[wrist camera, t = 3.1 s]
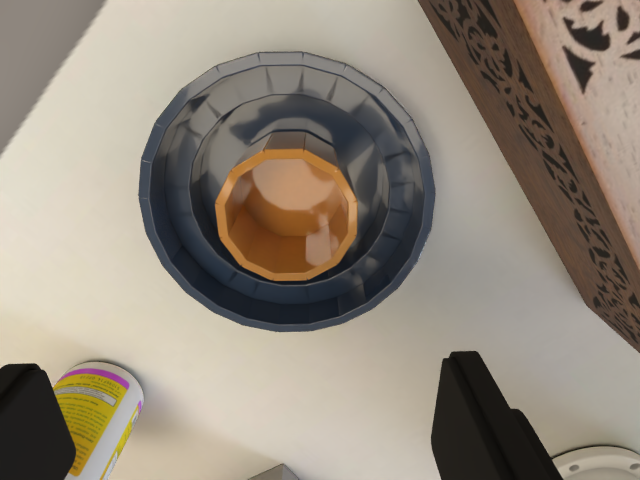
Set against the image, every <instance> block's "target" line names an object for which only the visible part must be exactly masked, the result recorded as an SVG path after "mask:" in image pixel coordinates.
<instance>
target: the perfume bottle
mask: <svg viewBox="0 0 640 480" xmlns="http://www.w3.org/2000/svg"><path fill="white" fill-rule="evenodd" d="M248 480H299V479H298V478H297V477H296V476H295V475H294V474H293V473H292V472H291V471H290V470H289V469H288V468H287V467H286V466H285V465H284V464H281V465H279V466H277V467H275V468H273V469H270V470H268V471H266V472H264V473H262V474H259V475H257V476H255V477H253V478H251V479H248Z"/></svg>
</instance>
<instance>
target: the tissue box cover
mask: <svg viewBox="0 0 640 480" xmlns="http://www.w3.org/2000/svg"><path fill="white" fill-rule="evenodd" d="M418 1H419V3H420V5H421V7H422V9H423V10H424V12H425V14H426V16H427V18H428V19H429V21H430V23H431V25H432V27H433V28H434V30H435V32H436V34H437V36H438V37H439V39H440V41H441V43H442V45H443V47H444V48H445V50H446V52H447V54H448V56H449V57H450V59H451V61H452V63H453V65H454V66H455V68H456V70H457V72H458V74H459V75H460V77H461V79H462V81H463V83H464V85H465V86H466V88H467V90H468V92H469V94H470V95H471V97H472V99H473V101H474V103H475V104H476V106H477V108H478V110H479V112H480V113H481V115H482V117H483V119H484V121H485V123H486V124H487V126H488V128H489V130H490V132H491V133H492V135H493V137H494V139H495V141H496V142H497V144H498V146H499V148H500V150H501V151H502V153H503V155H504V157H505V159H506V161H507V162H508V164H509V166H510V168H511V170H512V171H513V173H514V175H515V177H516V179H517V180H518V182H519V184H520V186H521V188H522V189H523V191H524V193H525V195H526V197H527V199H528V200H529V202H530V204H531V206H532V208H533V209H534V211H535V213H536V215H537V217H538V218H539V220H540V222H541V224H542V226H543V227H544V229H545V231H546V233H547V235H548V237H549V238H550V240H551V242H552V244H553V246H554V247H555V249H556V251H557V253H558V255H559V256H560V258H561V260H562V262H563V264H564V265H565V267H566V269H567V271H568V273H569V275H570V276H571V278H572V280H573V282H574V284H575V285H576V287H577V289H578V291H579V293H580V294H581V296H582V298H583V300H584V302H585V303H586V305H587V306H588V307H589V308H590V309H591V310H592V311H593V312H594V313H596V314H597V315H598V316H599V317H600V318H601V319H602V320H603V321H604V322H606V323H607V324H608V325H609V326H610V327H611V328H612V329H613V330H614V331H616V332H617V333H618V334H619V335H620V336H621V337H622V338H623V339H624V340H626V341H627V342H628V343H629V344H630V345H631V346H632V347H633V348H634V349H636V350H637V351H638V352H639V353H640V0H418Z"/></svg>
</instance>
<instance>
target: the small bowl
mask: <svg viewBox="0 0 640 480" xmlns="http://www.w3.org/2000/svg"><path fill="white" fill-rule="evenodd" d="M215 202H216V203H215V210H216V218H217V226H218V233H219V237H221V238H220V240H221V241H222V242H223V244H224V245H225V246H226V248H227V249H228V250H229V251H230V253H231V254H232V255H233V257H234V258H235V259H236V261H237V262H238V263H239V264H240V265H242V267H244V268H246V269H248V270H250V271H252V272H255V273H257V274H259V275H261V276H263V277H265V278H267V279H270V280H273V281H301V280H307V279H308V280H309V279H311V278H313V277H315V276H317V275H319V274H321V273H323V272H324V271H326V270H328V269H330V268H332V267H334V266H336V265H337V263H339V262H340V261H341V259H342V258H343V256H344V255H345V253H346V252H347V250H348V248H349V247H350V245H351V244H352V242H353V241H354V239H355V238H356V235H357V216H358V201H357V197H356V194H355V191H354V188H353V185H352V181H351V178H350V175H349V173H348V171H347V169H346V167H345V166H344V164H343V162H342V160H341V159H340V157H339V155H338V154H337V152H336V150H335V149H333V147H332V146H330V145H328V144H327V143H325V142H323V141H321V140H320V139H318V138H316V137H314V136H313V135H311V134H309V133H307V132H306V133H305V132H274V133H271V134H269V135H267V136H266V137H264V138H263V139H261V140H259V141H258V142H256V143H255V144H253V145H251V146H250V147H248V148H247V149H246V150H245V151H244V153H243V154H242V155H241V157H240V158H239V159H238V161H237V162H236V163H235V165H234V166H233V168H232V169H231V170H230V172H229V174H228V176H227V178H226V180H225V182H224V184H223V186H222V188H221V191H220V193H219V195H218V197H217V199H216V201H215Z"/></svg>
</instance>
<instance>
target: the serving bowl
mask: <svg viewBox="0 0 640 480" xmlns="http://www.w3.org/2000/svg"><path fill="white" fill-rule="evenodd" d="M274 132H305V133H306V132H307V133H309V134H311V135H313V136H314V137H316V138H318V139H320V140H321V141H323V142H325V143H327V144H328V145H330V146H332V147H333V149H335V150H336V152H337V154H338V155H339V157H340V159H341V160H342V162H343V164H344V166H345V167H346V169H347V171H348V173H349V175H350V178H351V181H352V185H353V188H354V191H355V194H356V197H357V201H358V216H357V235H356V238H355V239H354V241H353V242H352V244H351V245H350V247H349V248H348V250H347V252H346V253H345V255H344V256H343V258H342V259H341V261H340V262H339V263H337V265H336V266H334V267H332V268H330V269H328V270H326V271H324V272H323V273H321V274H319V275H317V276H315V277H313V278H311V279H309V280H308V279H307V280H301V281H273V280H270V279H267V278H265V277H263V276H261V275H259V274H257V273H255V272H252V271H250V270H248V269H246V268H244V267H242V265H240V264H239V263H238V262H237V261H236V259H235V258H234V257H233V255H232V254H231V253H230V251H229V250H228V249H227V248H226V246H225V245H224V244H223V242H222V241H221V240H220V238H221V237H219V233H218V226H217V218H216V210H215V203H216V202H215V201H216V199H217V197H218V195H219V193H220V191H221V188H222V186H223V184H224V182H225V180H226V178H227V176H228V174H229V172H230V170H231V169H232V168H233V166H234V165H235V163H236V162H237V161H238V159H239V158H240V157H241V155H242V154H243V153H244V151H245V150H246V149H247V148H248V147H250V146H251V145H253V144H255V143H256V142H258V141H259V140H261V139H263V138H264V137H266V136H267V135H269V134H271V133H274ZM138 196H139V203H140V207H141V212H142V217H143V222H144V227H145V231H146V234H147V236H148V238H149V240H150V242H151V244H152V246H153V248H154V250H155V252H156V254H157V256H158V258H159V260H160V262H161V264H162V265H163V267H164V268H165V269H166V270H167V271H168V273H169V274H170V275H171V276H172V277H173V278H174V280H175V281H176V282H177V283H178V284H179V285H180V287H181V288H182V289H183V290H184V291H185V292H186V293H187V294H189V295H190V296H191V297H193V298H194V299H196V300H197V301H198V302H200V303H201V304H202V305H204V306H205V307H207V308H208V309H209V310H211V311H212V312H214V313H216V314H218V315H220V316H223V317H225V318H227V319H230V320H232V321H234V322H237V323H239V324H241V325H245V326H249V327H254V328H259V329H264V330H269V331H274V332H277V331H278V332H305V331H314V330H319V329H323V328H327V327H331V326H335V325H339V324H342V323H345V322H347V321H349V320H351V319H353V318H355V317H357V316H359V315H362V314H364V313H366V312H368V311H370V310H372V309H373V308H374V307H376V306H377V305H378V304H379V303H381V302H382V301H383V300H384V299H385V298H387V297H388V296H389V295H390V294H391V293H393V292H394V291H395V290H396V289H398V287H399V286H400V285H401V284H402V282H403V281H404V279H405V278H406V277H407V275H408V274H409V273H410V271H411V270H412V269H413V267H414V266H415V265H416V263H417V262H418V260H419V258H420V256H421V253H422V251H423V248H424V246H425V243H426V241H427V238H428V236H429V233H430V231H431V227H432V219H433V210H434V202H435V185H434V179H433V173H432V167H431V161H430V155H429V153H428V151H427V148H426V146H425V144H424V142H423V140H422V138H421V136H420V134H419V132H418V130H417V128H416V125H415V123H414V121H413V119H411V116H410V115H409V114H408V113H407V112H406V111H405V110H404V109H403V108H402V106H401V105H400V104H399V103H398V102H397V101H396V100H395V99H394V97H393V96H392V95H391V94H390V93H389V92H388V91H387V90H386V89H385V88H384V87H383V86H382V85H380V84H379V83H377V82H375V81H374V80H372V79H371V78H369V77H367V76H366V75H364V74H363V73H361V72H359V71H358V70H356V69H355V68H353V67H351V66H350V65H348V64H346V63H343V62H339V61H336V60H332V59H329V58H325V57H322V56H318V55H314V54H311V53H307V52H302V51H294V52H259V53H257V52H256V53H253V54H250V55H247V56H244V57H241V58H237V59H234V60H231V61H228V62H225V63H222V64H218V65H217V66H214V67H213V68H211V69H210V70H208V71H207V72H205V73H204V74H202V75H201V76H200V77H198V78H197V79H195V80H194V81H192V82H191V83H189V84H188V85H186V86H185V87H184V88H182V89H181V90H180V91H179V92H178V93H177V95H176V96H175V97H174V99H173V100H172V101H171V102H170V104H169V105H168V106H167V107H166V109H165V110H164V111H163V113H162V114H161V115H160V116H159V118H158V119H157V120H156V122H155V123H154V126H153V129H152V131H151V134H150V137H149V139H148V142H147V144H146V147H145V150H144V152H143V155H142V157H141V166H140V180H139V194H138Z"/></svg>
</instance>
